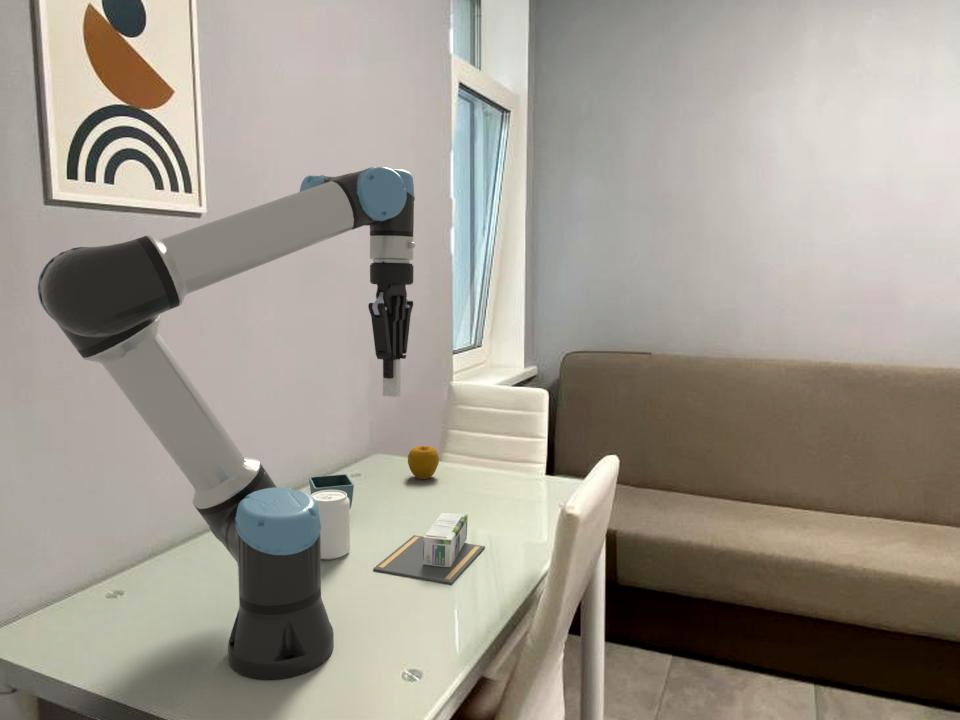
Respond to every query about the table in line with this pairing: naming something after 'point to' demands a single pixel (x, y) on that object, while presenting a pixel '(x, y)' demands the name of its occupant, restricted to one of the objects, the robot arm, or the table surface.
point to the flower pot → (332, 484)
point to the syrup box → (445, 540)
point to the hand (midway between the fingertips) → (391, 395)
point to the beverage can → (334, 522)
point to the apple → (423, 461)
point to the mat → (411, 565)
